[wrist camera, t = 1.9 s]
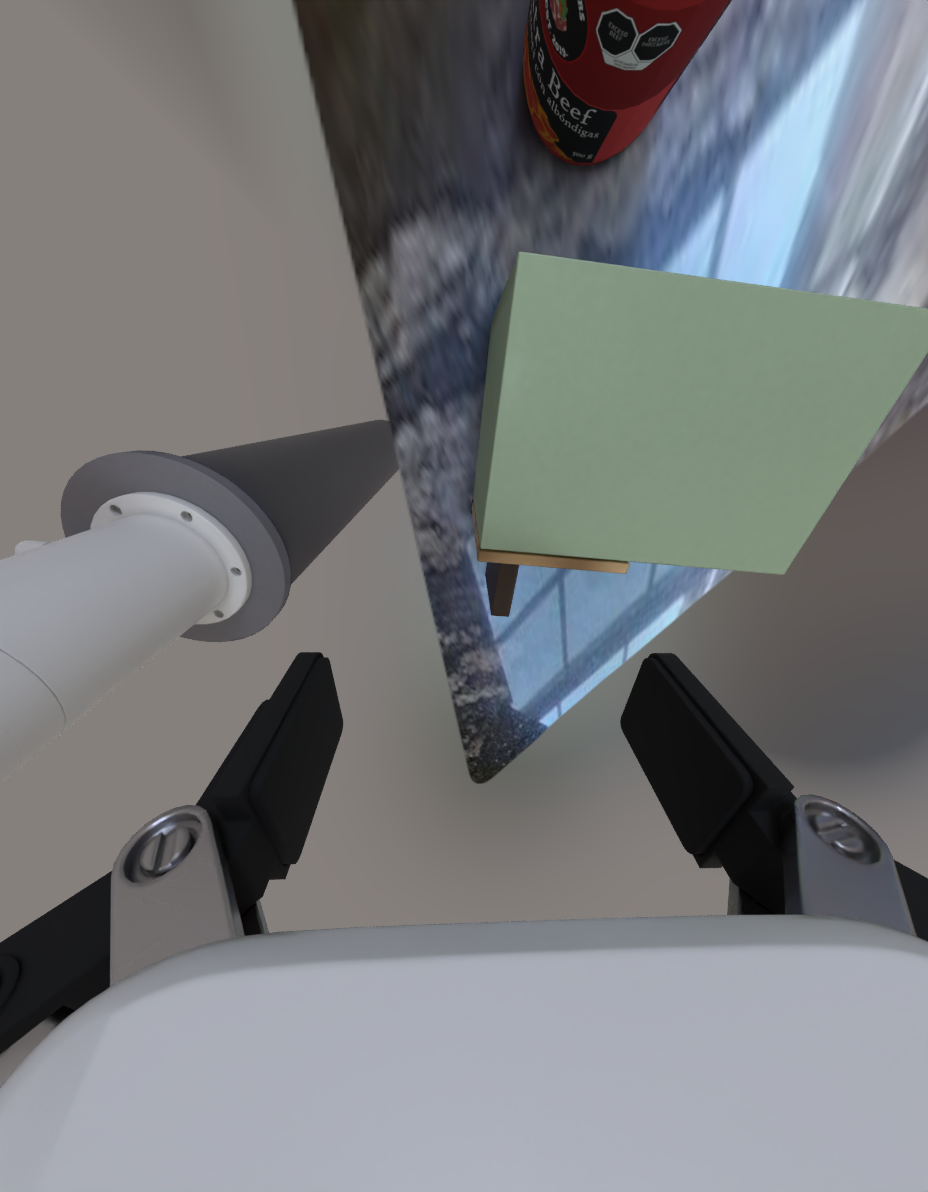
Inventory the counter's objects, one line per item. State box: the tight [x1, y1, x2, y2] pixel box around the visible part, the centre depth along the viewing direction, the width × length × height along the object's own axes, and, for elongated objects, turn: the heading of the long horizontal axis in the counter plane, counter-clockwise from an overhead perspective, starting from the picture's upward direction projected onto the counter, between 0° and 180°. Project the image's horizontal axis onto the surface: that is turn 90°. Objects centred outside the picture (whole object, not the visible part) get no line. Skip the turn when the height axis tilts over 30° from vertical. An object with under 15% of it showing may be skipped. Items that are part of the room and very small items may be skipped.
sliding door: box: [472, 502, 629, 617], centre depth 25 cm, size 9×5×11 cm, turn 84°
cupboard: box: [471, 252, 928, 575], centre depth 21 cm, size 18×13×12 cm
